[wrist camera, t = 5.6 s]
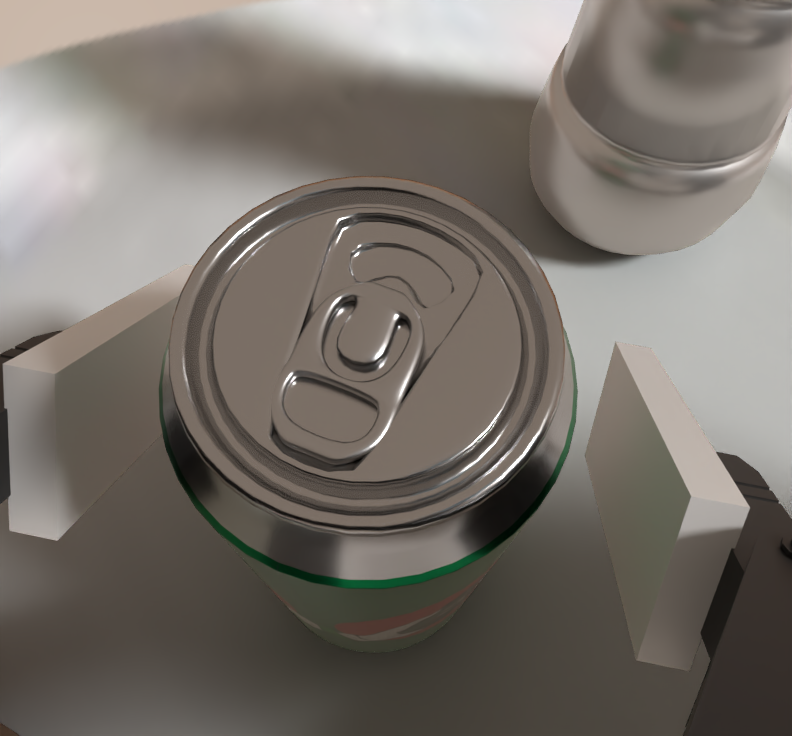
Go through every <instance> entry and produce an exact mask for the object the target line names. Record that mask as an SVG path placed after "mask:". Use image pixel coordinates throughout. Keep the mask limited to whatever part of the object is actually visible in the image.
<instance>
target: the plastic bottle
mask: <svg viewBox="0 0 792 736" xmlns="http://www.w3.org/2000/svg"><path fill="white" fill-rule="evenodd" d="M791 107H792V0H584V1H583V4H582V7H581V9H580V12H579V14H578V17H577V20H576V22H575V25H574V28H573V30H572V33H571V36H570V38H569V41H568V43H567V44H566V45H565V47H564V49H563V50H562V52H561V54H560V56H559V57H558V59H557V61H556V63H555V64H554V66H553V69H552V71H551V73H550V75H549V77H548V79H547V82H546V84H545V86H544V89H543V91H542V93H541V96H540V98H539V100H538V103H537V105H536V107H535V109H534V112H533V115H532V121H531V126H530V161H529V162H530V173H531V179H532V182H533V185H534V188H535V191H536V194H537V195H538V197H539V199H540V200H541V202H542V204H543V205H544V207H545V208H546V210H547V211H548V212H549V213H550V214H551V215H552V216H553V217H554V218H555V219H556V220H557V221H558V222H559V224H560V225H561V226H562V227H563V228H564V229H565V230H567V231H568V232H569V233H571V234H572V235H573V236H575V237H576V238H577V239H579V240H581V241H583V242H585V243H587V244H589V245H591V246H593V247H596V248H599V249H602V250H605V251H608V252H612V253H619V254H625V255H652V254H661V253H666V252H672V251H678V250H681V249H683V248H686V247H689V246H691V245H694V244H696V243H698V242H700V241H701V240H703V239H705V238H706V237H708V236H709V235H711V234H712V233H713V232H715V231H716V230H717V229H718V228H719V227H720V226H721V225H722V224H723V223H725V222H726V221H727V220H728V219H729V218H730V217H731V216H732V215H733V214H734V213H736V212H737V211H738V210H739V209H740V208H741V207H742V206H743V205H744V204H745V203H746V202H747V201H748V200H749V199H750V198H751V196H752V195H753V193H754V191H755V190H756V188H757V186H758V185H759V183H760V181H761V179H762V177H763V175H764V173H765V171H766V169H767V167H768V165H769V163H770V161H771V159H772V157H773V155H774V152H775V150H776V148H777V146H778V143H779V140H780V137H781V134H782V131H783V128H784V125H785V122H786V118H787V115H788V112H789V110H790V109H791Z"/></svg>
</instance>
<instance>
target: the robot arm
mask: <svg viewBox="0 0 792 736" xmlns="http://www.w3.org/2000/svg"><path fill="white" fill-rule="evenodd" d="M194 267H195V266H193V265H187V264H185V265H183V266H181V267H180V268H178V269H176V270H174V271H172V272H170V273H169V274H167V275H165V276H163V277H161V278H159V279H158V280H156V281H154V282H152V283H150V284H148V285H147V286H145V287H143V288H141V289H139V290H137V291H136V292H134V293H132V294H130V295H128V296H126V297H125V298H123V299H121V300H119V301H117V302H115V303H114V304H112V305H110V306H108V307H106V308H104V309H103V310H101V311H99V312H97V313H95V314H93V315H92V316H90V317H88V318H86V319H84V320H82V321H81V322H79V323H77V324H75V325H73V326H71V327H70V328H68V329H66V330H64V331H57V332H52V333H48V334H44V335H40V336H36V337H33V338H31V339H29V340H27V341H25V342H23V343H21V344H19V345H17V346H15V349H10V350H8V351H6V352H4V353H2V354H0V504H1V503H2V502H3V501H4V500H5V499H7V498H8V507H9V531H13V532H17V533H22V534H27V535H32V536H37V537H42V538H46V539H51V540H56V541H57V540H58V539H59V538H60V537H61V536H62V535H63V534H64V533H65V532H66V531H67V530H68V529H69V528H70V527H71V526H72V525H73V524H74V523H75V522H76V521H77V520H78V519H79V518H80V517H81V516H82V515H83V514H84V513H85V512H86V511H87V510H88V509H89V508H90V507H91V506H92V505H93V504H94V503H95V502H96V501H97V500H98V499H99V498H100V497H101V496H102V495H103V494H104V493H105V492H106V491H107V490H108V489H109V488H110V487H111V486H112V485H113V483H114V482H115V481H116V480H117V479H118V478H119V477H120V476H121V475H122V474H123V473H124V472H125V471H126V470H127V469H128V468H129V467H130V466H131V465H132V464H133V463H134V462H135V461H136V460H137V459H138V458H139V457H140V456H141V455H142V454H143V453H144V452H145V451H146V450H147V449H148V448H149V447H150V446H151V445H152V444H153V443H154V442H155V441H156V440H157V439H158V438H159V437H160V436H161V435H162V434H163V433H162V428H161V423H160V417H159V382H160V375H161V368H162V361H163V356H164V353H165V350H166V347H167V344H168V341H169V337H170V332H171V325H172V318H173V315H174V312H175V309H176V306H177V303H178V300H179V297H180V293H181V291H182V289H183V287H184V285H185V283H186V282H187V280H188V278H189V276H190V274H191V272H192V270H193V268H194ZM585 458H586V462H587V466H588V470H589V474H590V478H591V482H592V486H593V490H594V494H595V498H596V502H597V506H598V510H599V514H600V518H601V522H602V526H603V530H604V534H605V538H606V542H607V546H608V550H609V554H610V558H611V562H612V566H613V570H614V574H615V578H616V582H617V586H618V590H619V594H620V598H621V602H622V606H623V610H624V614H625V618H626V622H627V626H628V630H629V634H630V638H631V642H632V646H633V650H634V654H635V658H636V661H641V662H646V663H651V664H655V665H660V666H665V667H670V668H675V669H680V670H684V671H690V669H691V666H692V663H693V661H694V658H695V655H696V653H697V650H698V647H699V644H700V642H701V639H703V641H704V644H705V647H706V649H707V652H708V654H709V657H710V660H711V661H710V664H709V666H708V669H707V671H706V674H705V677H704V679H703V682H702V685H701V687H700V690H699V692H698V695H697V698H696V700H695V703H694V706H693V708H692V711H691V714H690V716H689V719H688V721H687V724H686V729H685V732H684V734H683V736H792V519H791V518H790V516H789V515H788V513H787V512H786V511H785V509H784V508H783V506H782V505H781V504H778V502H779V501H778V499H777V498H776V496H775V495H774V493H773V492H772V491H769V486H768V485H767V483H766V482H765V481H764V479H763V478H762V476H761V475H760V473H759V472H758V471H757V470H755V469H754V468H753V467H751V466H750V465H749V464H747V463H746V462H744V461H743V460H742V459H740V458H739V457H738V456H735V455H730V454H725V453H719V452H715V450H714V449H713V447H712V445H711V444H710V442H709V440H708V439H707V437H706V436H705V434H704V432H703V431H702V429H701V428H700V426H699V424H698V423H697V421H696V419H695V418H694V416H693V415H692V413H691V411H690V410H689V408H688V407H687V405H686V403H685V402H684V400H683V398H682V397H681V395H680V394H679V392H678V390H677V389H676V387H675V386H674V384H673V382H672V381H671V379H670V378H669V376H668V374H667V373H666V371H665V369H664V368H663V366H662V365H661V363H660V361H659V360H658V358H657V357H656V355H655V353H654V352H653V350H652V348H647V347H642V346H636V345H631V344H625V343H620V342H615V346H614V349H613V353H612V357H611V360H610V364H609V368H608V371H607V375H606V379H605V383H604V386H603V390H602V394H601V397H600V401H599V405H598V408H597V412H596V416H595V419H594V423H593V427H592V431H591V434H590V438H589V442H588V445H587V449H586V453H585Z"/></svg>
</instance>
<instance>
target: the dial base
mask: <svg viewBox="0 0 792 736" xmlns="http://www.w3.org/2000/svg"><path fill="white" fill-rule="evenodd" d="M0 736H19V735H18V734H17V733H15V732H14V731H12V730H11V729H9V728H8V727H6V726H4V725H3V724H1V723H0Z"/></svg>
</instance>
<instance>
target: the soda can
mask: <svg viewBox="0 0 792 736" xmlns="http://www.w3.org/2000/svg"><path fill="white" fill-rule="evenodd" d="M577 393H578V390H577V381H576V372H575V362H574V358H573V355H572V351H571V348H570V344H569V340H568V337H567V333H566V331H565V329H564V327H563V323H562V319H561V316H560V312H559V309H558V305H557V301H556V298H555V295H554V293H553V291H552V289H551V287H550V284H549V282H548V280H547V278H546V276H545V274H544V272H543V270H542V269H541V267H540V266H539V264H538V263H537V261H536V260H535V259H534V257H533V256H532V254H531V253H530V251H529V250H528V248H527V247H526V246H525V245H524V244H523V243H522V242H521V241H520V240H519V239H518V238H517V237H516V236H515V235H514V234H513V232H512V231H511V230H510V229H509V228H507V227H506V226H505V225H504V224H502V223H501V222H500V221H499V220H497V219H496V218H495V217H493V216H492V215H491V214H490V213H488V212H487V211H485V210H484V209H482V208H480V207H478V206H477V205H475V204H473V203H472V202H470V201H468V200H467V199H465V198H463V197H460V196H458V195H455V194H453V193H451V192H448V191H446V190H444V189H441V188H439V187H435V186H431V185H428V184H424V183H420V182H417V181H413V180H407V179H400V178H392V177H385V176H353V177H345V178H336V179H328V180H324V181H320V182H316V183H312V184H308V185H304V186H301V187H298V188H295V189H293V190H290V191H288V192H285V193H283V194H280V195H277V196H275V197H273V198H272V199H270V200H268V201H266V202H264V203H263V204H261V205H259V206H257V207H255V208H253V209H252V210H250V211H249V212H248V213H246V214H245V215H244V216H242V217H241V218H240V219H238V220H237V221H236V222H234V223H233V224H232V225H230V226H229V227H228V228H227V229H226V230H225V231H224V232H223V233H222V234H221V235H220V236H219V237H218V238H217V239H216V240H215V241H214V242H213V243H212V244H211V245H210V246H209V248H208V249H207V250H206V252H205V253H204V254H203V256H202V257H201V258H200V260H199V261H198V263H197V264H196V265H195V267H194V268H193V270H192V272H191V274H190V276H189V278H188V280H187V282H186V283H185V285H184V287H183V289H182V291H181V293H180V297H179V300H178V303H177V306H176V309H175V312H174V315H173V318H172V325H171V332H170V337H169V341H168V344H167V347H166V350H165V353H164V356H163V361H162V368H161V375H160V382H159V417H160V423H161V428H162V433H163V438H164V442H165V447H166V451H167V453H168V456H169V458H170V461H171V463H172V466H173V468H174V471H175V473H176V476H177V478H178V480H179V482H180V484H181V485H182V487H183V488H184V490H185V492H186V493H187V495H188V496H189V498H190V500H191V501H192V503H193V504H194V506H195V508H196V509H197V510H198V511H199V512H200V513H201V514H202V516H203V517H204V518H205V519H206V520H207V521H208V522H209V523H210V524H211V526H212V527H213V528H214V529H215V530H216V531H217V532H218V533H219V534H220V535H221V537H222V538H223V539H224V540H225V541H226V542H227V543H228V544H229V545H230V546H231V547H232V548H233V549H234V550H235V552H236V553H237V554H238V555H239V556H240V557H241V558H242V559H243V560H244V561H245V562H246V563H247V564H248V565H249V567H250V568H251V569H252V570H253V571H254V572H255V573H256V574H257V575H258V576H259V577H260V578H261V579H262V580H263V582H264V583H265V584H266V585H267V586H268V587H269V588H270V589H271V590H272V591H273V592H274V593H275V594H276V595H277V597H278V598H279V599H280V600H281V601H282V602H283V603H284V604H285V605H286V606H287V607H288V608H289V609H290V611H291V612H292V613H293V614H294V615H295V616H296V617H297V618H298V619H299V620H300V621H301V622H302V623H303V624H304V625H305V626H306V627H307V628H308V629H310V630H311V631H312V632H313V633H315V634H316V635H317V636H319V637H320V638H322V639H324V640H326V641H328V642H330V643H331V644H334V645H336V646H339V647H342V648H345V649H348V650H353V651H359V652H365V653H383V652H389V651H395V650H400V649H403V648H406V647H409V646H412V645H415V644H417V643H419V642H421V641H422V640H424V639H426V638H428V637H430V636H431V635H433V634H434V633H435V632H436V631H438V630H439V629H440V628H441V627H443V626H444V625H445V624H446V623H447V622H448V621H449V620H450V618H451V617H452V616H453V615H454V614H455V613H456V612H457V611H458V609H459V608H460V607H461V605H462V604H463V603H464V602H465V600H466V599H467V598H468V597H469V595H470V594H471V593H472V592H473V590H474V589H475V588H476V587H477V585H478V584H479V583H480V581H481V580H482V579H483V578H484V576H485V575H486V574H487V573H488V571H489V570H490V569H491V568H492V566H493V565H494V564H495V563H496V561H497V560H498V559H499V557H500V556H501V555H502V554H503V552H504V551H505V550H506V549H507V547H508V546H509V545H510V544H511V542H512V541H513V540H514V539H515V537H516V536H517V535H518V533H519V532H520V531H521V530H522V528H523V527H524V526H525V525H526V523H527V522H528V521H529V520H530V518H531V517H532V516H533V515H534V513H535V512H536V511H537V509H538V508H539V506H540V505H541V503H542V502H543V500H544V499H545V497H546V496H547V494H548V493H549V491H550V490H551V488H552V487H553V485H554V484H555V482H556V480H557V477H558V475H559V473H560V470H561V468H562V466H563V464H564V461H565V459H566V457H567V454H568V452H569V448H570V443H571V439H572V435H573V431H574V427H575V422H576V409H577Z"/></svg>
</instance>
